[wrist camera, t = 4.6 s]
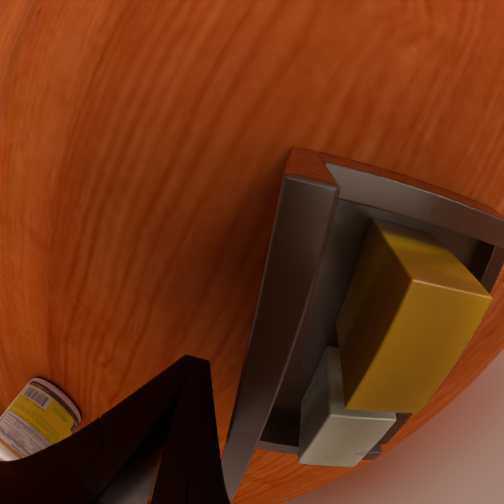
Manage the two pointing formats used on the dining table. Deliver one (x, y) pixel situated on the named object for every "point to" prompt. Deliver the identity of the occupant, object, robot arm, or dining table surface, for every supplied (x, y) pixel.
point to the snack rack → (357, 310)
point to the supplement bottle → (36, 420)
